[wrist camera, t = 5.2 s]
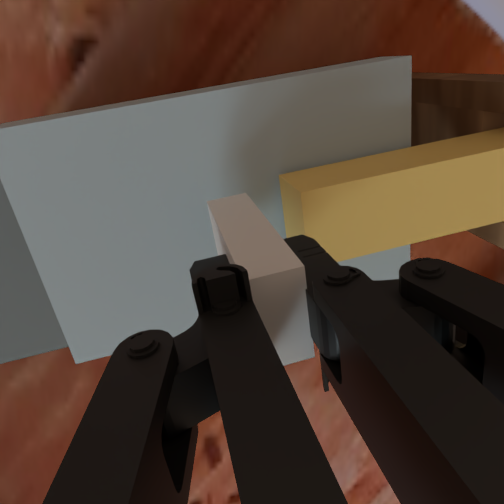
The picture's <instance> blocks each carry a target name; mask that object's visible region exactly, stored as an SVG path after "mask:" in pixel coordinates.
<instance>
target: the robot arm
mask: <svg viewBox="0 0 504 504" xmlns="http://www.w3.org/2000/svg"><path fill="white" fill-rule="evenodd" d="M207 205H208V210H209V215H210V220H211V225H212V229H213V234H214V239H215V244H216V248H217V253H218V256H215V257H210V258H206V259H202V260H198V261H194V263H193V265H192V266H191V268H190V270H189V271H190V275H191V280H192V283H191V285H192V289H193V294H194V298H195V302H196V306H197V310H198V318H197V320H196V322H195V323H194V324H193V325H192V326H191V327H190V328H189V329H187V330H186V331H184V332H183V333H181V334H179V335H177V336H175V337H172V336H171V335H170V334H169V332H166V331H163V330H160V329H158V330H146V331H140V332H138V333H136V334H133V335H131V336H129V337H127V338H126V339H125V340H123V341H122V342H121V343H119V345H118V346H117V347H116V349H115V350H114V352H113V354H112V356H111V358H110V360H109V362H108V364H107V366H106V369H105V371H104V373H103V375H102V377H101V379H100V381H99V384H98V386H97V388H96V390H95V392H94V394H93V396H92V399H91V401H90V403H89V405H88V407H87V409H86V411H85V414H84V416H83V418H82V420H81V422H80V424H79V426H78V429H77V431H76V433H75V435H74V437H73V439H72V441H71V444H70V446H69V448H68V450H67V452H66V454H65V456H64V459H63V461H62V463H61V465H60V467H59V469H58V471H57V474H56V476H55V478H54V480H53V482H52V484H51V486H50V489H49V491H48V493H47V495H46V497H45V499H44V501H43V504H187V503H188V497H189V490H190V483H191V477H192V470H193V463H194V457H195V450H196V443H197V437H198V423H199V422H201V421H203V420H205V419H206V418H208V417H210V416H211V415H213V414H215V413H216V412H218V411H220V412H221V416H222V421H223V425H224V429H225V434H226V438H227V443H228V447H229V452H230V456H231V461H232V465H233V469H234V474H235V478H236V483H237V487H238V492H239V496H240V501H241V504H348V503H347V501H346V499H345V496H344V494H343V492H342V490H341V488H340V486H339V484H338V482H337V479H336V477H335V475H334V473H333V471H332V469H331V467H330V464H329V462H328V460H327V458H326V456H325V454H324V452H323V450H322V447H321V445H320V443H319V441H318V439H317V437H316V435H315V432H314V430H313V428H312V426H311V424H310V422H309V420H308V417H307V415H306V413H305V411H304V409H303V407H302V405H301V403H300V400H299V398H298V396H297V394H296V392H295V390H294V388H293V385H292V383H291V381H290V379H289V377H288V375H287V373H286V370H285V368H284V365H288V364H291V363H295V362H298V361H302V360H305V359H309V358H312V357H315V354H314V345H313V341H314V342H315V344H316V346H317V347H318V349H319V352H320V361H321V370H322V379H323V387H324V391H325V392H326V391H329V387H328V382H329V381H330V383H331V385H332V386H333V388H334V390H335V391H336V393H337V395H338V397H339V398H340V400H341V402H342V404H343V405H344V407H345V409H346V410H347V412H348V414H349V416H350V417H351V419H352V421H353V422H354V424H355V426H356V428H357V429H358V431H359V433H360V434H361V436H362V438H363V440H364V441H365V443H366V445H367V446H368V448H369V450H370V452H371V453H372V455H373V457H374V458H375V460H376V462H377V464H378V465H379V467H380V469H381V470H382V472H383V474H384V476H385V477H386V479H387V481H388V482H389V484H390V486H391V488H392V489H393V491H394V493H395V495H396V496H397V498H398V500H399V501H400V503H401V504H504V285H503V284H500V283H498V282H495V281H493V280H490V279H488V278H486V277H483V276H481V275H478V274H476V273H474V272H471V271H469V270H466V269H464V268H461V267H459V266H457V265H454V264H452V263H449V262H446V261H443V260H439V259H431V258H423V259H422V258H418V259H415V260H411V261H408V262H406V263H405V264H403V265H401V267H400V269H399V279H392V280H372V279H370V278H369V277H368V276H367V275H366V274H365V273H364V272H363V271H361V270H359V269H358V268H355V267H351V266H340V265H339V264H338V263H337V262H336V261H335V260H334V259H333V258H332V257H331V256H330V255H329V254H328V253H327V252H326V251H325V250H324V249H323V248H322V247H321V246H320V244H319V243H318V242H317V241H316V240H315V239H313V238H311V237H308V236H305V235H297V236H293V237H289V238H285V239H283V238H282V237H281V236H280V235H279V233H278V232H277V231H276V230H275V228H274V227H273V226H272V225H271V223H270V222H269V221H268V220H267V218H266V217H265V216H264V215H263V213H262V212H261V211H260V210H259V208H258V207H257V206H256V205H255V203H254V202H253V201H252V200H251V198H250V197H249V196H248V195H247V193H242V194H238V195H233V196H228V197H224V198H219V199H215V200H210V201H207ZM456 326H458V327H459V328H461V329H463V330H465V331H467V332H468V333H467V343H466V345H465V344H462V343H460V342H458V341H456V340H455V329H456Z"/></svg>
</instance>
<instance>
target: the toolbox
mask: <svg viewBox="0 0 504 504" xmlns="http://www.w3.org/2000/svg"><path fill="white" fill-rule="evenodd" d="M503 127H504V75H500V74H457V73H414V72H412V92H411V147H413V146H417V145H422V144H427V143H432V142H436V141H441V140H446V139H451V138H455V137H460V136H465V135H469V134H474V133H479V132H484V131H488V130H493V129H498V128H503ZM467 231H469V232H471V233H473V234H474V235H476V236H478V237H480V238H482V239H484V240H486V241H488V242H490V243H492V244H494V245H496V246H498V247H500V248H502V249H504V221H502V222H498V223H494V224H490V225H486V226H481V227H477V228H473V229H469V230H467Z"/></svg>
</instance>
